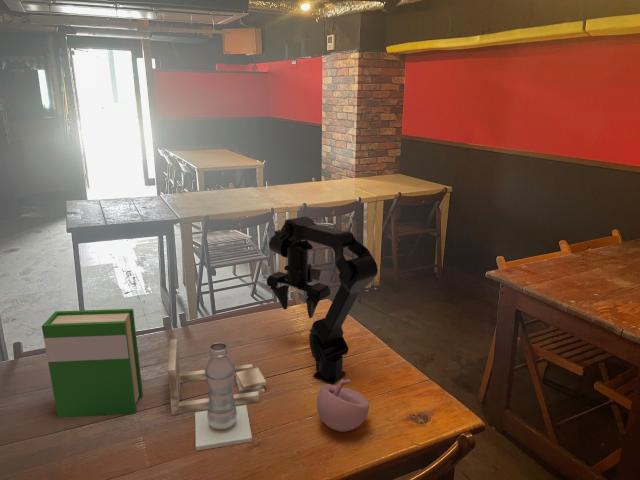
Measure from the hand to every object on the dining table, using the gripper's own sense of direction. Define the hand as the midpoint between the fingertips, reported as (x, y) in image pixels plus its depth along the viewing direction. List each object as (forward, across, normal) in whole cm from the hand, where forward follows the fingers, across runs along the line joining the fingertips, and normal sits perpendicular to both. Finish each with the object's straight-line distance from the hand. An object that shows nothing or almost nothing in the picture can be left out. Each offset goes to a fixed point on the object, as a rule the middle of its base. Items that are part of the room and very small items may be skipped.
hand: (297, 313), depth 140 cm
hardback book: (+13, +23, +48) cm, 55 cm away
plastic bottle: (+12, -7, +36) cm, 39 cm away
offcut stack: (+13, 0, +20) cm, 24 cm away
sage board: (+13, -7, +36) cm, 39 cm away
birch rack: (+13, +6, +27) cm, 31 cm away
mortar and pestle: (+13, -28, +19) cm, 36 cm away
